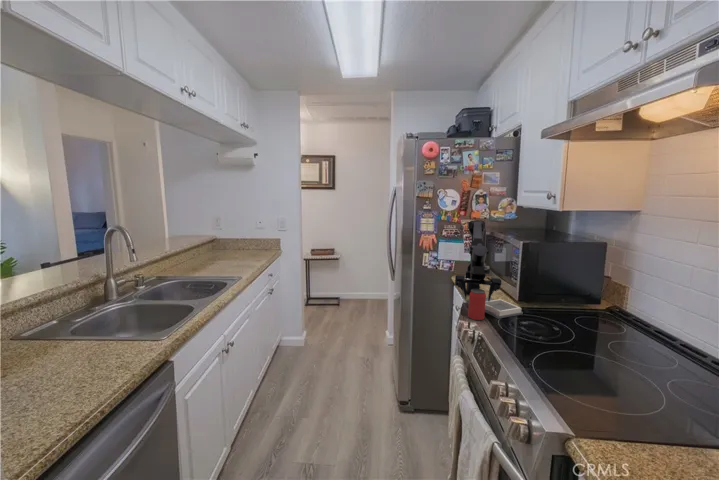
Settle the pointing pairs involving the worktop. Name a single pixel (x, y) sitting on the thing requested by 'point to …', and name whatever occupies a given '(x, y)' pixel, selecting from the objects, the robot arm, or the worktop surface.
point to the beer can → (477, 304)
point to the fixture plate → (501, 308)
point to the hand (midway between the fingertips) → (477, 299)
